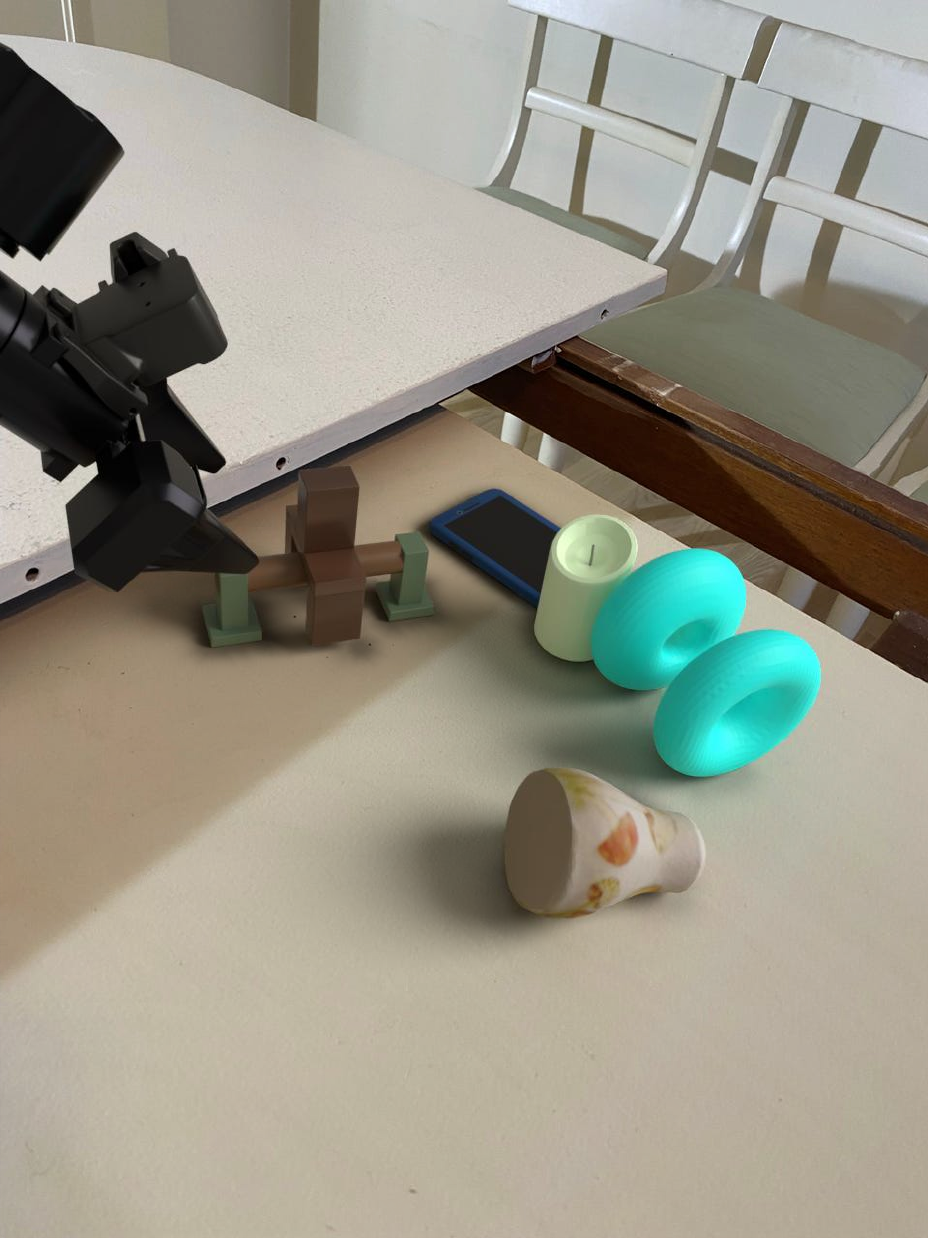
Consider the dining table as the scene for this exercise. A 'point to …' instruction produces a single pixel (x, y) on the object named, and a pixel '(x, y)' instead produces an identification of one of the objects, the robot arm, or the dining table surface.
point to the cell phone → (500, 539)
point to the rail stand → (237, 613)
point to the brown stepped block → (328, 552)
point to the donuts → (704, 662)
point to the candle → (581, 582)
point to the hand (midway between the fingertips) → (236, 514)
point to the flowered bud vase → (592, 845)
